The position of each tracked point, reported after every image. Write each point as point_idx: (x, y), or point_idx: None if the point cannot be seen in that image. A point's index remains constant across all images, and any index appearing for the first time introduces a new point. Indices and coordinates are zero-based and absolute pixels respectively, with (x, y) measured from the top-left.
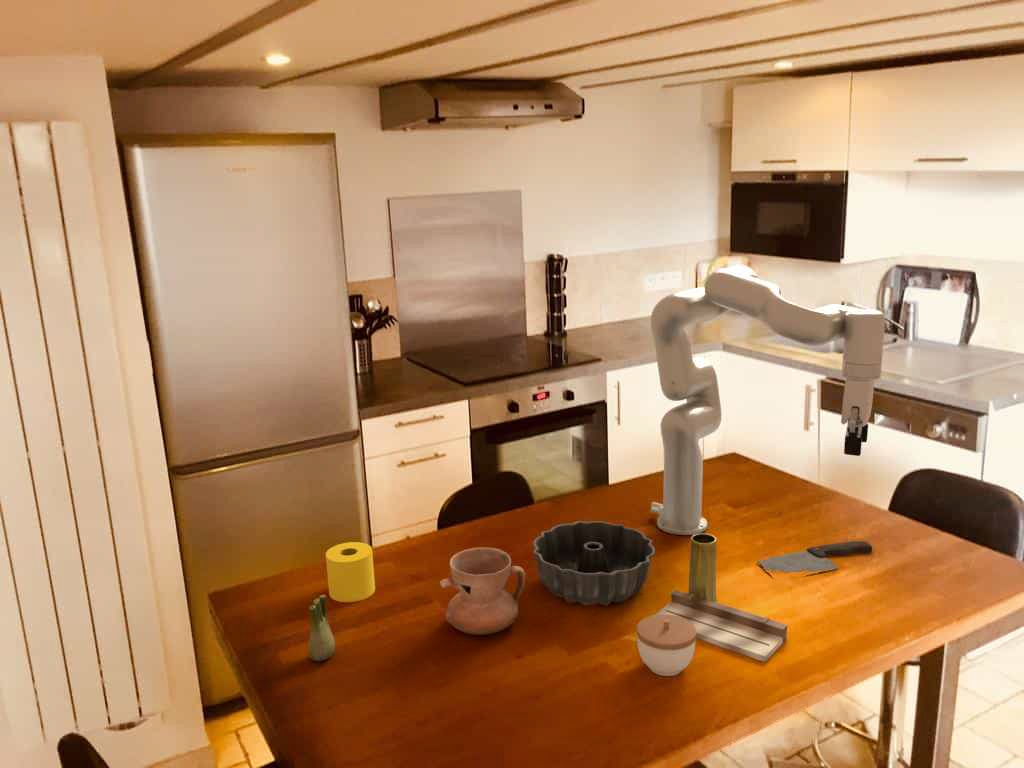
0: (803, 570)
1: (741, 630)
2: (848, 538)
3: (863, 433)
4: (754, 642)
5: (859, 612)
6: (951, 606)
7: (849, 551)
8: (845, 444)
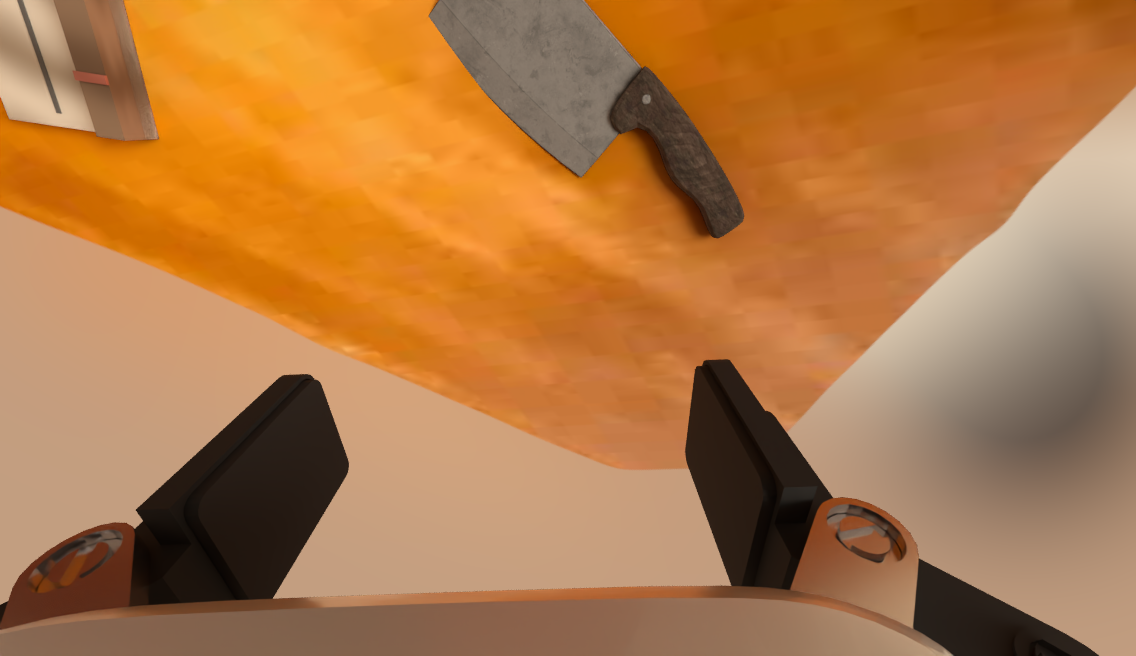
0: (516, 90)
1: (53, 17)
2: (786, 164)
3: (708, 497)
4: (37, 72)
5: (390, 260)
6: (516, 397)
7: (680, 187)
8: (229, 435)
